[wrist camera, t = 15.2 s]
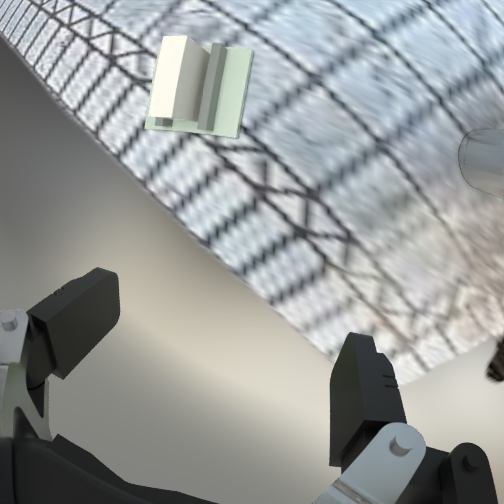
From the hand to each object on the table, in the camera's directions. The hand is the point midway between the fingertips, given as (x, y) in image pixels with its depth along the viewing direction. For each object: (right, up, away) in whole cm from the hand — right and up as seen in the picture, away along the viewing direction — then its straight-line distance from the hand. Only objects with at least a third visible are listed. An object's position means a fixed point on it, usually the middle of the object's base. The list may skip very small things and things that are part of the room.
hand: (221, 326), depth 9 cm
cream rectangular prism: (-7, +25, +26) cm, 37 cm away
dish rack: (-7, +25, +28) cm, 38 cm away
